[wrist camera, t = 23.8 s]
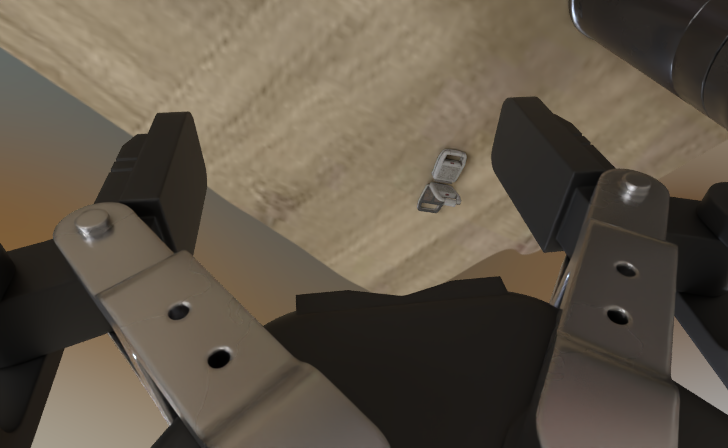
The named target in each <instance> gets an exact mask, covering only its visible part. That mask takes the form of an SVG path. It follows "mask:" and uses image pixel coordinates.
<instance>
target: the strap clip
mask: <svg viewBox="0 0 728 448" xmlns="http://www.w3.org/2000/svg"><path fill="white" fill-rule="evenodd" d="M446 155H454V156H460V157H461V158H460V161H455V160H450V159H445V157H446ZM466 159H467V156H466V154H465V153H464V152H461V151H457V150H452V149H444V150H443V151H442V152H441V153H440V155H439V156H438V158H437V161H436V164H435V166H434V169H433V172H432V175H433V178H434V180H435V181H438V182H444V183H450V184H452V182H456V180H457V178H458V177H459V175H460V173H461V171H462V170H463V168H464V166H465V163H466ZM447 198H452V199H447ZM453 199H456V200H453ZM422 203H429V204H435V205H438V206H437V207H436V209H431V208H424V207H421V204H422ZM460 203H461V198H460V196H459V194H458V193H457V192H456V191H455V190H454V188H453V187H452V186H449V185H446V184H440V183H433V182H431V183H430V184H427V185H426V187H425V189H424V191H423V192H422V194H421V196H420V198H419V200H418V205H417V208H418V210H419V211H424V212H431V213H437V212H438V211H439V210H440V209H441V207H442V206H443V205H447V206H454V207H455V205H456V204H458V205H460Z"/></svg>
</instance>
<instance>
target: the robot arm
mask: <svg viewBox="0 0 728 448" xmlns="http://www.w3.org/2000/svg"><path fill="white" fill-rule="evenodd" d="M569 13H570V17H571V20H572V22H573V24H574V25H575V27H576V28H577V29H578V30H579V31H580V32H581V33H583V34H584V35H585V36H587V37H589V38H591V39H593V40H595V41H597V42H598V43H600V44H601V45H603V46H604V47H605V48H607V49H608V50H610V51H611V52H613V53H614V54H615V55H617V56H618V57H620V58H621V59H623V60H624V61H626V62H627V63H629V64H630V65H632V66H633V67H635V68H636V69H638V70H639V71H641V72H642V73H644V74H645V75H647V76H648V77H650V78H651V79H653V80H654V81H656V82H657V83H658V84H660V85H661V86H663V87H664V88H666V89H667V90H669V91H670V92H672V93H673V94H675V95H676V96H678V97H679V98H681V99H682V100H684V101H685V102H687V103H689V104H690V105H692V106H693V107H694V108H696V109H697V110H699V111H700V112H702V113H703V114H705V115H706V116H708V117H709V118H711V119H712V120H714V121H715V122H716V123H718V124H719V125H721V126H722V127H724V128H725V129H726V130H727V131H728V0H569ZM491 161H492V167H493V170H494V172H495V174H496V176H497V177H498V179H499V181H500V182H501V184H502V185H503V187H504V189H505V190H506V192H507V194H508V195H509V197H510V198H511V200H512V202H513V203H514V205H515V207H516V208H517V210H518V211H519V213H520V215H521V216H522V218H523V220H524V221H525V223H526V224H527V226H528V228H529V229H530V231H531V233H532V234H533V236H534V238H535V239H536V241H537V242H538V244H539V246H540V247H541V249H542V250H543V252H544V253H546V252H557V251H565V253H566V256H565V259H564V261H563V263H562V266H561V269H560V272H559V276H558V278H557V281H556V284H555V287H554V290H553V293H552V296H551V299H550V302H549V303H547V302H544V301H542V300H539V299H537V298H534V297H530V296H527V295H523V294H519V293H514V292H508V291H507V289H506V287H505V285H504V284H503V281H502V279H501V277H500V276H499V277H487V278H476V279H465V280H455V281H449V282H446V283H443V284H440V285H437V286H434V287H431V288H428V289H425V290H421V291H418V292H415V293H412V294H409V295H405V296H396V295H387V294H378V293H369V292H360V291H351V290H345V291H334V292H323V293H312V294H302V295H296V311H294V312H291V313H288V314H286V315H284V316H281V317H279V318H277V319H275V320H273V321H271V322H269V323H267V324H266V325H264V326H262V325H261V324H260V323H259V322H258V321H257V320H256V319H255V318H254V317H253V316H252V315H251V314H250V313H249V312H248V311H247V310H246V309H245V308H244V307H243V306H242V305H241V304H240V303H239V302H238V301H237V300H236V299H235V298H234V297H233V296H232V295H231V294H230V293H229V292H228V291H227V290H226V289H225V288H224V287H223V286H222V285H221V284H220V283H219V282H218V281H217V280H216V279H215V278H214V277H213V276H212V275H211V274H210V273H209V272H208V271H207V270H206V269H205V268H204V267H203V266H202V265H201V264H200V263H199V262H198V261H197V260H196V259H195V258H194V257H193V254H194V249H195V244H196V239H197V234H198V230H199V225H200V219H201V215H202V210H203V204H204V200H205V195H206V190H207V174H206V167H205V163H204V159H203V155H202V151H201V147H200V143H199V139H198V135H197V131H196V127H195V123H194V119H193V117H192V114H191V113H190V112H169V113H157V114H156V116H155V118H154V121H153V123H152V125H151V128H150V130H149V132H148V134H137V135H136V136H134V137H133V138H132V139H131V140H129V141H128V142H127V143H126V144H124V145H123V146H122V148H121V150H120V152H119V154H118V156H117V158H116V162H114V164H113V166H112V168H111V172H110V173H109V174H108V176H107V178H106V180H105V182H104V184H103V186H102V188H101V191H100V192H99V194H98V196H97V198H96V201H95V202H94V204H92V205H88V206H85V207H83V208H80V209H78V210H76V211H74V212H73V213H71V214H69V215H67V216H66V217H65V218H63V219H62V220H61V221H60V222H59V224H58V225H57V226H56V228H55V230H54V233H53V239H51V240H48V241H45V242H41V243H37V244H33V245H30V246H26V247H22V248H19V249H15V250H12V251H7V252H6V251H5V249H4V248H3V246H2V245H1V244H0V448H31V445H32V442H33V439H34V436H35V433H36V431H37V428H38V425H39V422H40V419H41V416H42V413H43V410H44V407H45V404H46V401H47V398H48V395H49V392H50V390H51V387H52V384H53V381H54V378H55V375H56V372H57V369H58V366H59V363H60V360H61V357H62V354H63V351H64V348H66V347H69V346H72V345H75V344H77V343H80V342H84V341H86V340H89V339H92V338H95V337H98V336H101V335H103V334H106V333H108V335H109V336H110V338H111V339H112V341H113V342H114V344H115V345H116V347H117V348H118V349H119V351H120V352H121V354H122V355H123V357H124V358H125V359H126V361H127V363H128V364H129V365H130V367H131V368H132V370H133V371H134V373H135V374H136V376H137V377H138V378H139V380H140V381H141V383H142V384H143V385H144V387H145V389H146V390H147V392H148V393H149V395H150V396H151V398H152V399H153V401H154V403H155V404H156V406H157V407H158V409H159V410H160V412H161V414H162V415H163V417H164V419H165V420H166V421H167V423H168V425H169V427H168V428H167V429H166V431H165V432H164V433H163V434H162V435H161V436H160V437H159V439H158V440H157V441H156V442H155V443H154V444H153V445H152V447H151V448H728V415H727V414H725V413H724V412H722V411H721V410H719V409H717V408H716V407H714V406H712V405H711V404H710V403H708V402H706V401H705V400H703V399H702V398H700V397H698V396H697V395H695V394H694V393H692V392H690V391H689V390H687V389H686V388H684V387H683V386H681V385H680V384H678V383H676V382H675V381H673V380H672V379H671V360H672V359H671V358H672V343H673V342H672V341H673V327H674V316H675V317H676V319H677V320H678V321H679V323H680V324H681V326H682V327H683V328H684V330H685V331H686V332H687V334H688V335H689V337H690V338H691V339H692V341H693V342H694V343H695V345H696V346H697V348H698V349H699V350H700V352H701V353H702V354H703V356H704V357H705V359H706V360H707V361H708V363H709V364H710V366H711V367H712V368H713V370H714V371H715V372H716V374H717V375H718V377H719V378H720V379H721V381H722V382H723V383H724V385H725V386H726V388H727V389H728V182H721V183H716V184H714V185H712V186H711V187H710V188H709V190H708V191H707V193H706V194H705V196H704V198H703V199H702V201H698V200H690V199H683V198H676V197H670V195H669V191H668V190H667V188H666V187H665V186H664V185H663V184H662V183H661V182H659V181H658V180H656V179H655V178H653V177H651V176H649V175H647V174H644V173H641V172H638V171H634V170H629V169H616V168H615V167H614V166H613V165H612V164H611V163H610V162H609V161H608V160H607V159H606V158H605V157H604V156H603V155H602V154H601V153H600V152H599V151H598V150H597V149H596V148H595V147H594V146H593V145H590V142H589V141H588V140H587V139H586V138H585V136H582V133H581V132H580V131H579V130H578V129H577V128H576V127H575V126H574V125H573V124H572V123H570V122H569V121H567V120H565V119H563V118H561V117H559V116H558V115H556V114H553V113H552V112H551V111H550V110H549V109H548V108H547V107H546V105H545V104H544V103H543V102H542V101H541V100H540V99H539V98H538V97H514V98H507V99H506V100H505V101H504V103H503V105H502V109H501V113H500V117H499V122H498V126H497V130H496V134H495V139H494V143H493V147H492V154H491Z"/></svg>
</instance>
